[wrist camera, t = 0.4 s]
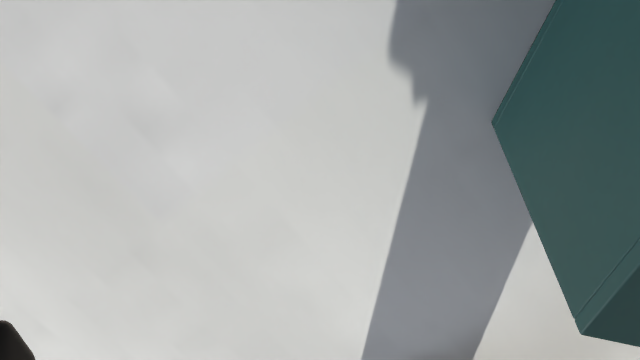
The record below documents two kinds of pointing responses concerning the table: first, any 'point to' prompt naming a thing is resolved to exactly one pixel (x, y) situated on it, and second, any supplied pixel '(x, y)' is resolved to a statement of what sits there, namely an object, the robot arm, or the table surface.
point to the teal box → (583, 157)
